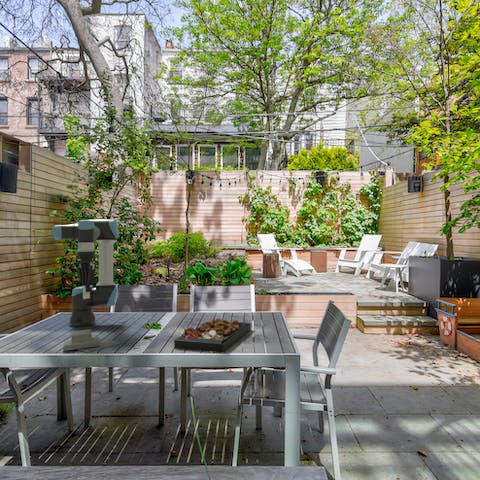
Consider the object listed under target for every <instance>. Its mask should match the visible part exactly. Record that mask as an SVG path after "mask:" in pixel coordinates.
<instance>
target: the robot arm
mask: <svg viewBox="0 0 480 480" xmlns="http://www.w3.org/2000/svg"><path fill="white" fill-rule="evenodd" d="M51 229H52V231H51V234H52V237H53V239H54V240H58V241H59V240H60V241H61V240H78V241H77V250H78V252H77V259H78V260H79V261H80V262H79V264H76V268H77V272H78V278H79V284H81V285H82V286H77V287H75V288H73V289H72V292H71V315H70V317H69V321H68V326H69V327H87V326H92V325H95V324H96V323H97V321H96V320H97V319H96V317H95V314H94V311H93V308H94V307H96V308H97V307H113V306H115V305H116V304H117V302H118V298H119V287H118V286H117V285H116V283H115V282H114V244H115V243H116V240H117V239H118V238H119V235H120V234H119V232H120V231H119V225H118V223H117V221H116V220H115V219H80V220H78V221H76V223H72V224H71V223H70V224H63V225H62V224H57V225H56V224H55V225H54V226H53V227H52V228H51ZM95 240H96V242H97V244H98V282H97V283H96V284H95V287H93V286H94V285H93V284H94V277H95V271H96V269H97V265H96V264H95V265H94V262H93V259H95V251H94V250H95Z"/></svg>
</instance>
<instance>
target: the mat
mask: <svg viewBox="0 0 480 480" xmlns="http://www.w3.org/2000/svg"><path fill="white" fill-rule="evenodd" d="M117 344H118V345H120V344H122V343H121V342H118V341H114V340H111V339H107V340H102V341H100V345H99V346H96V347H89V348H82V349H77V350H76V351H80V352H83V351H84V353H91V351H92V352H95V350H96V351H99V350H102V348H103V349H106V347H107V348H109V347H113V346H117ZM98 349H99V350H98Z"/></svg>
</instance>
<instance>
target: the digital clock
mask: <svg viewBox="0 0 480 480" xmlns="http://www.w3.org/2000/svg"><path fill="white" fill-rule="evenodd" d="M92 334H93V333H92V329H91V328H90V329H82V330H74V331H71V339H69V340H65V341H64V343H63V345H62V349H63V350H64V351H66V352H67V351H73V350H75V351H76V349H82V348H89V347H96V346H99V345H100V342H101V341H100V337H98V336H93V335H92ZM92 336H93V337H92Z"/></svg>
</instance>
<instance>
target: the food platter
mask: <svg viewBox="0 0 480 480" xmlns="http://www.w3.org/2000/svg"><path fill="white" fill-rule="evenodd" d="M182 327H183V329H184V331H183V334H182V335H181V336H178V338H176V339H174V341H173V343H174V347H173V348H174V349H178V348H179V349H180V350H189V351H190V350H192V351H199V350H202V351H203V352H210V351H212V353H213V352H214V353H221V352H223V353H225V352H226V351H227V350H229V349H230V348H231V347H232V346H234V345H235V343H238V341H239V340H241V339H242V338H243V337H244V336H246V335H247V334H248V333H249V332H251V330H252V323H250V322H241V321H239V320H238V319H234V320H232V321H227V320H226V319H222V320H221V318H216V319H211V320H210V321H205V322H202V323H201V325H200V326H198V327H195V328H194V327H193V326H189V327H188V328H185V326H184V325H182ZM225 350H226V351H225ZM224 351H225V352H224Z"/></svg>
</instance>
